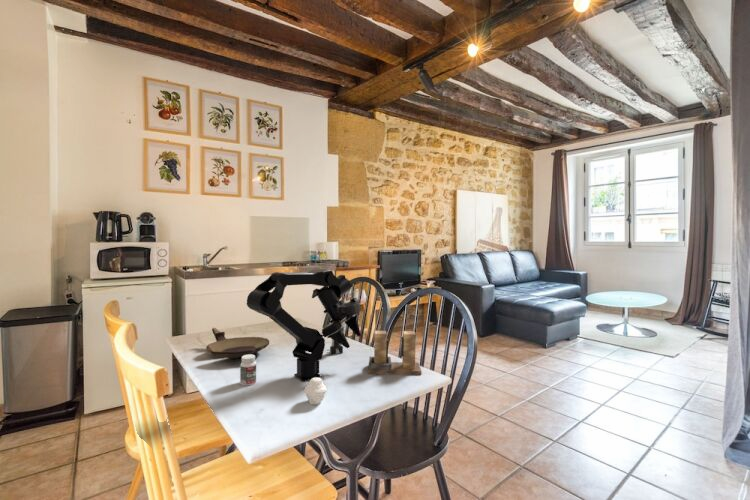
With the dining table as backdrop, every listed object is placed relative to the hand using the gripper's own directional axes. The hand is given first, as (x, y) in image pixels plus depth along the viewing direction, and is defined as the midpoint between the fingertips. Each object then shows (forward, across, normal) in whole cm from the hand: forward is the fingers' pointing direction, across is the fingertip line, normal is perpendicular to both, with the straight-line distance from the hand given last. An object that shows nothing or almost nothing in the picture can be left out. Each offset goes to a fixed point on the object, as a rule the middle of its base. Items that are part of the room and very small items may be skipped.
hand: (354, 341), depth 122 cm
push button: (+3, +11, +19) cm, 22 cm away
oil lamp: (-17, -4, +47) cm, 50 cm away
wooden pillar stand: (+16, +4, -5) cm, 17 cm away
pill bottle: (-8, -24, +25) cm, 36 cm away
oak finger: (+12, +3, -2) cm, 13 cm away
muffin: (+5, -27, +3) cm, 27 cm away
